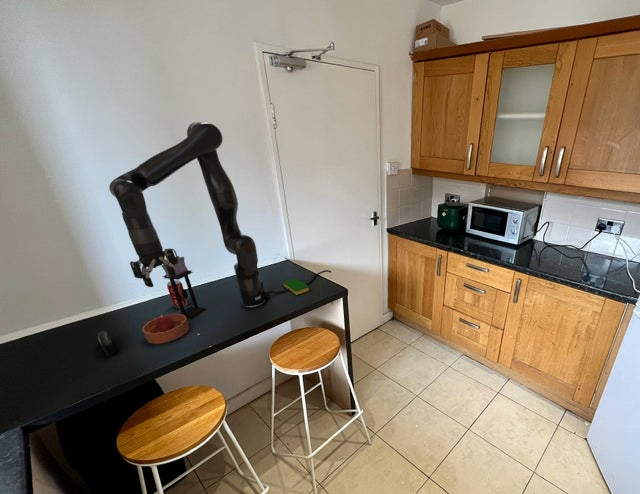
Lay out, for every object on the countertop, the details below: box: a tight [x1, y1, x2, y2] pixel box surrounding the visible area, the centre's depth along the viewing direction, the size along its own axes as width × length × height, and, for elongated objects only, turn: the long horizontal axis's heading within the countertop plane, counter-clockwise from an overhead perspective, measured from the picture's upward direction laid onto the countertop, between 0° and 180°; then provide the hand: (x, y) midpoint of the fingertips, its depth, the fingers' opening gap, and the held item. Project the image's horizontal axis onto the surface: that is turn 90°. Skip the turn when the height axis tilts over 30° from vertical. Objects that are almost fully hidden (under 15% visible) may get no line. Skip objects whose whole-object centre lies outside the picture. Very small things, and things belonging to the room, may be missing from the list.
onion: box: [156, 314, 175, 332], centre depth 122 cm, size 6×6×8 cm
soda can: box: [166, 279, 189, 309], centre depth 141 cm, size 6×6×12 cm
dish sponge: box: [282, 277, 310, 296], centre depth 159 cm, size 7×14×2 cm, turn 44°
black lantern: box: [161, 247, 206, 319], centre depth 131 cm, size 10×8×30 cm
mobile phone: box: [97, 330, 117, 356], centre depth 115 cm, size 5×3×15 cm
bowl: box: [141, 313, 190, 345], centre depth 123 cm, size 14×14×5 cm
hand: (162, 281), depth 115 cm, fingers open, 8 cm apart
